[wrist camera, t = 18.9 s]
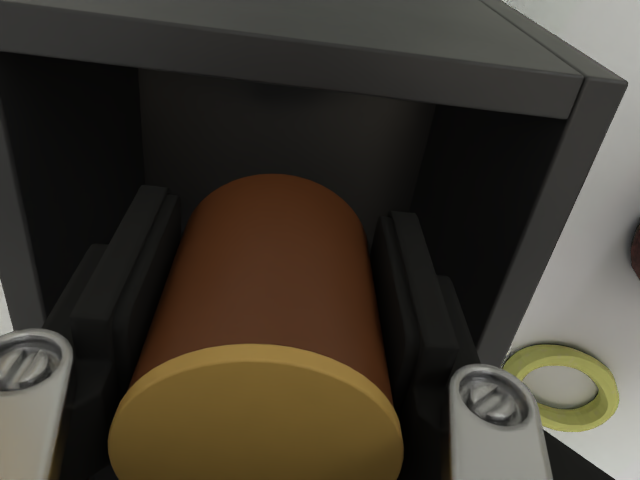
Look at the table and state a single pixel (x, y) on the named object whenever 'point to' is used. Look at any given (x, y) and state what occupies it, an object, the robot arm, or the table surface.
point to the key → (570, 357)
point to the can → (636, 252)
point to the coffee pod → (263, 348)
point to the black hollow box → (298, 129)
